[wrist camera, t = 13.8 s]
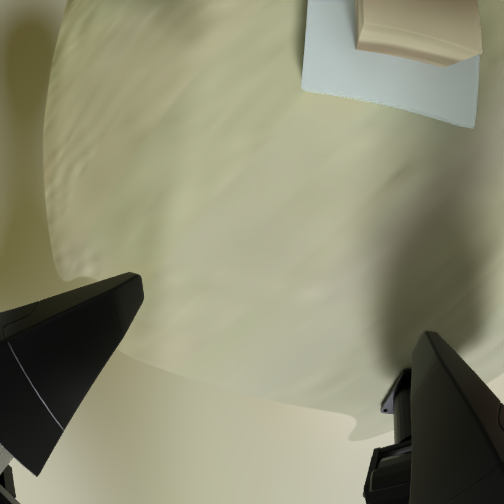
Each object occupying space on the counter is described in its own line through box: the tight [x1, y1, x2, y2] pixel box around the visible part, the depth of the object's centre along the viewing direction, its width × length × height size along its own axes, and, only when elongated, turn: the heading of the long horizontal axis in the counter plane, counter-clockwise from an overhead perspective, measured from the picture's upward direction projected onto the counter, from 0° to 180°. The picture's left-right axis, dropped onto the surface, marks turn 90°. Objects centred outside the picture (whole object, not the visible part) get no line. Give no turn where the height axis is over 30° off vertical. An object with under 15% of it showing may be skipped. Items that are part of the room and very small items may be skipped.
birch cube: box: [355, 0, 483, 68], centre depth 8 cm, size 5×5×5 cm
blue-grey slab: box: [301, 0, 480, 129], centre depth 12 cm, size 10×10×3 cm
